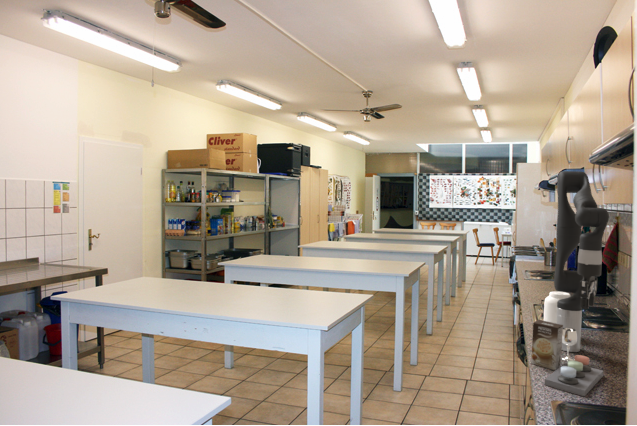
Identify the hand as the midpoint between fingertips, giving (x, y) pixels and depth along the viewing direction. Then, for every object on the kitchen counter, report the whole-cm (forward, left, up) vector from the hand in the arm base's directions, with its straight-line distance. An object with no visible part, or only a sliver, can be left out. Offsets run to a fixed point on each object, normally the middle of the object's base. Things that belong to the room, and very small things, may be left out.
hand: (587, 306), depth 165 cm
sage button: (+13, 0, -20) cm, 24 cm away
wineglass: (-8, -8, -24) cm, 27 cm away
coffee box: (+5, -12, -24) cm, 27 cm away
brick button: (+5, 0, -20) cm, 20 cm away
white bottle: (-40, -21, -24) cm, 51 cm away
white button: (+21, 0, -20) cm, 29 cm away
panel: (+13, 0, -24) cm, 27 cm away
